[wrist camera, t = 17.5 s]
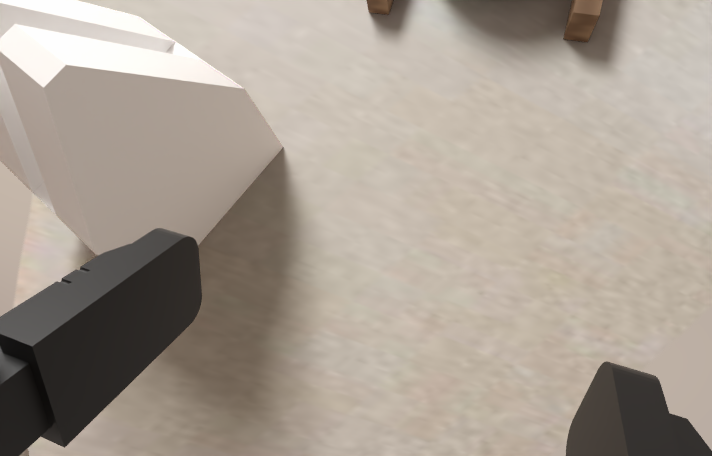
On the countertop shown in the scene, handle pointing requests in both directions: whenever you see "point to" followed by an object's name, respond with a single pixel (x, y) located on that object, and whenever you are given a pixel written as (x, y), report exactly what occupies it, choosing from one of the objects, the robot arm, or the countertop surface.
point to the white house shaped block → (122, 124)
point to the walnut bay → (577, 27)
